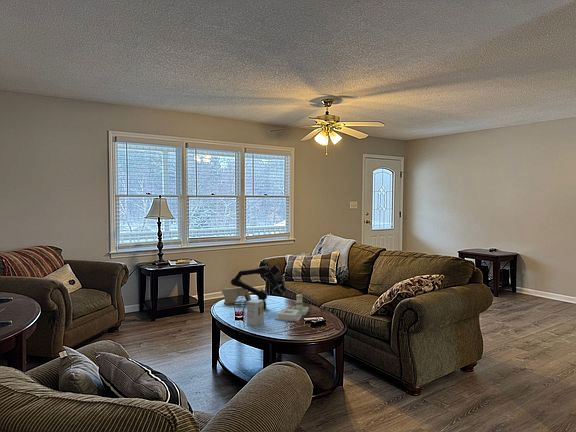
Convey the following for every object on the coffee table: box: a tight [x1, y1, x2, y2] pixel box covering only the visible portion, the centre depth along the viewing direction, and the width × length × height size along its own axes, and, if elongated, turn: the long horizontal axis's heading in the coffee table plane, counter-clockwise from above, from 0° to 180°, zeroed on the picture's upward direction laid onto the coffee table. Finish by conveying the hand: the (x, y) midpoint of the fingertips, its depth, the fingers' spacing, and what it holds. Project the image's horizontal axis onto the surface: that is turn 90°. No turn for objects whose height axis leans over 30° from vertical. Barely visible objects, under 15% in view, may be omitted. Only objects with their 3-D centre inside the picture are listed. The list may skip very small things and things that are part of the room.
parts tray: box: [291, 305, 309, 316], centre depth 313 cm, size 12×12×3 cm
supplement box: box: [246, 298, 265, 327], centre depth 286 cm, size 10×9×17 cm
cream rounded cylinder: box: [295, 293, 303, 311], centre depth 312 cm, size 5×5×13 cm
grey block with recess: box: [274, 308, 303, 323], centre depth 299 cm, size 18×14×4 cm
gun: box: [221, 286, 252, 305], centre depth 338 cm, size 24×3×15 cm, turn 84°
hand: (284, 293), depth 319 cm, fingers open, 9 cm apart
